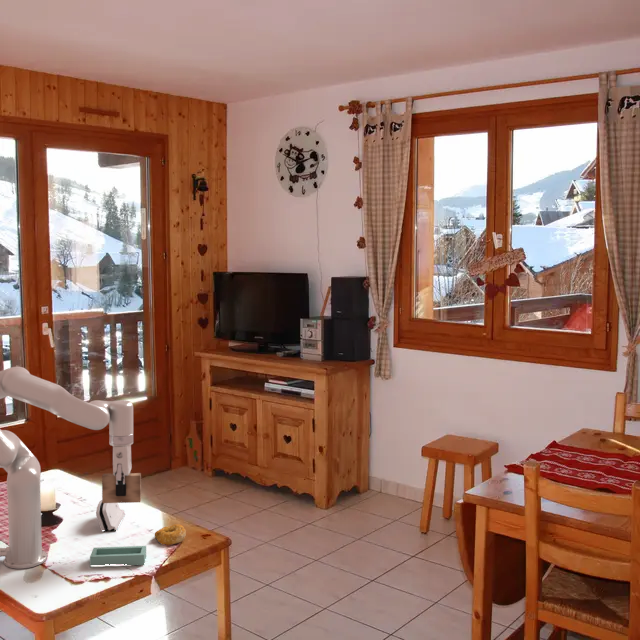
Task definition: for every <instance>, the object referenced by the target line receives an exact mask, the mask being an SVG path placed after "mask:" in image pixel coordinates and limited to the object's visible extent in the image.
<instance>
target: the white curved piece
mask: <svg viewBox="0 0 640 640" xmlns="http://www.w3.org/2000/svg"><path fill="white" fill-rule="evenodd" d="M95 511H96V512H95V516H96V518H97V522H98V525H99V527H100V531H102V530H106V531H107V530H108V531H111V530H113V529H114V531H115V530H117V528H118V526H119V524H120V522H121V520H122V519H123V520H124V518H125V516H126V513H125V510H123V509H121V508H120V506H119V503H102V499H101V500H100V501H99V502H98V504H97V506H96V510H95ZM124 515H125V516H124ZM123 517H124V518H123ZM123 520H122V521H123ZM121 523H122V522H121ZM120 525H121V524H120ZM119 527H120V526H119ZM118 529H119V528H118ZM117 531H118V530H117Z"/></svg>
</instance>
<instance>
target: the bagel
mask: <svg viewBox="0 0 640 640" xmlns="http://www.w3.org/2000/svg"><path fill="white" fill-rule="evenodd" d="M186 535H187V530H186V528H185V527H184V526H183V525H181V524H180V523H175V524H172V525H169V526H163V527H161V528H160V529H158V530H156V531H155V532H154V538H155V539H156V540H157V542H158V543H159V542H160V543H161V544H160V543H159V544H160V545H163V544H166V545H165V546H173V545H175V544H179V543H181V542H183V541H184V540H185V538H186ZM172 544H173V545H172Z"/></svg>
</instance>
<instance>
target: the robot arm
mask: <svg viewBox="0 0 640 640" xmlns="http://www.w3.org/2000/svg"><path fill="white" fill-rule="evenodd" d="M6 397H9V398H11V399H14V400H17V401H20V402H23V403H26V404H28V405H31V406H34V407H37V408H40V409H42V410H46V411H48V412H50V413H51V414H53V415H54V416H55V415H56V416H58V417H59V418H61V419H64V420H66V421H68V422H71V423H73V424H75V425H78V426H81V427H84V428H87V429H90V430H93V431H100V430H102V429H104V428H105V427H107V426H109V427H108V429H109V431H108V432H109V434H108V435H109V439H108V440H109V442H108V443H109V445H110V446H112V474H113V475H114V476H116V496H126V484H125V475H127V476H128V475H129V474H130V473H131V472H132V471H131V470H132V468H133V467H132V465H133V464H132V445H133V444H134V404H133V402H131V401H129V400H125V399H123V400H122V399H121V400H120V399H119V400H114V401H112V400H111V401H110V400H99V399H97V400H95V399H94V400H91V401H89V402H88V401H85V400H83V399H81V398H78V397H77V396H74V395H73V394H71V393H70V392H69V391H68V390H66V389H65V387H62V386H61V385H59V384H58V383H55V382H52V381H49V380H46V379H43V378H41V377H39V376H36V375H33V374H31V373H30V371H29V370H28V369H26V368H25V367H23V366H12V367H9V368H7V369H6V368H4V369H2V370H0V400H2V399H4V398H6ZM0 468H2V469H3V470H4V471H5V472H6V473H7V478H6V493H7V494H6V495H7V513H8V514H7V515H8V520H7V521H8V546H6V547H0V557H4V559H3V563H4V565H5V566H6V567H7V568H11V569H20V570H21V569H29V568H33V567H37V566H39V565H41V564H43V563H44V562H46V561H47V559H48V554H47V552H46V551H45V550H42V549H43V548H42V545H43V543H42V538H43V537H42V509H41V505H42V503H41V502H42V501H41V474H42V473H41V472H42V471H41V470H42V469H41V464H40V462H39V460H38V458H37V456H35V455H34V453H32V451H31V450H30V449H29V448H28V447H27V445H26V444H25V443H24V442H23V441H22V440H21V439H20V438H19V436H17V434H16V433H14V432H12V431H10V430H8V429H7V430H6V429H1V428H0ZM122 473H124V474H122ZM122 477H123V478H122Z"/></svg>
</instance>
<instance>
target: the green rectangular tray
mask: <svg viewBox="0 0 640 640" xmlns="http://www.w3.org/2000/svg"><path fill="white" fill-rule="evenodd" d="M145 559H147V545H135V546H134V545H133V546H132V545H131V546H129V545H128V546H103V547H102V546H101V547H93V548H92V551H91V553H90V555H89V566H90V565H105V564H109V565H110V564H124V565H125V564H127V565H144V566H145V564H144V563H146V560H145Z"/></svg>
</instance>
